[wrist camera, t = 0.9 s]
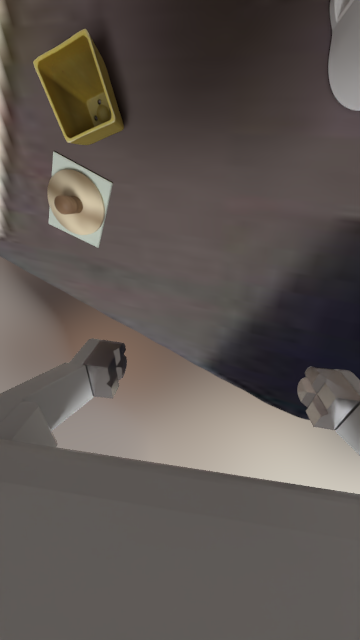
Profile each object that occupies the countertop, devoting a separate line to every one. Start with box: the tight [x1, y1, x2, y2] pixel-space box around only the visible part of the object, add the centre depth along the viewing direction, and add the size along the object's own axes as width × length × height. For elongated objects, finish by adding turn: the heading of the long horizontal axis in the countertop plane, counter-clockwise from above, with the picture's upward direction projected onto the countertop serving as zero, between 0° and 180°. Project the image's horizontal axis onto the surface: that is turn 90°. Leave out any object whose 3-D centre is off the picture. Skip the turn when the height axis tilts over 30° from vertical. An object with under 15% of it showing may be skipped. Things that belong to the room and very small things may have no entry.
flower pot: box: [33, 29, 124, 145], centre depth 30 cm, size 9×9×9 cm
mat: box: [49, 152, 113, 247], centre depth 42 cm, size 14×12×1 cm
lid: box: [48, 169, 105, 235], centre depth 40 cm, size 12×12×6 cm
